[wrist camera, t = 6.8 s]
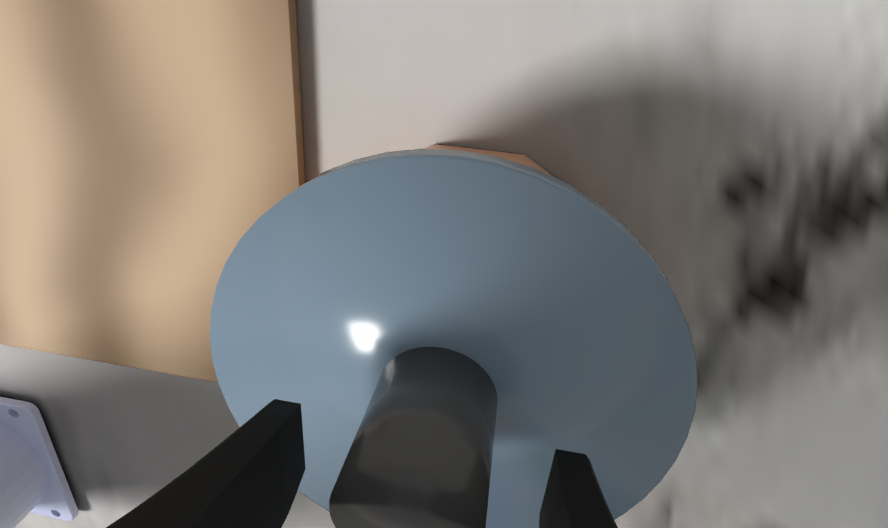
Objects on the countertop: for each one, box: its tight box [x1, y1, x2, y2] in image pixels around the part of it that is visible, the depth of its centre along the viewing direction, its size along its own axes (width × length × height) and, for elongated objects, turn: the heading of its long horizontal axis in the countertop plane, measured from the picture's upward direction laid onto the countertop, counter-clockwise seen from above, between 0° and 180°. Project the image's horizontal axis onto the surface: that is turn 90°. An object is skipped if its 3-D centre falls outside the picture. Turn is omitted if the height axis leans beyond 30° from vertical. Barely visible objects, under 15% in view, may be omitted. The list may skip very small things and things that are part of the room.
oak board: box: [0, 0, 305, 382], centre depth 18 cm, size 15×15×1 cm
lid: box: [210, 149, 698, 528], centre depth 11 cm, size 12×12×4 cm
